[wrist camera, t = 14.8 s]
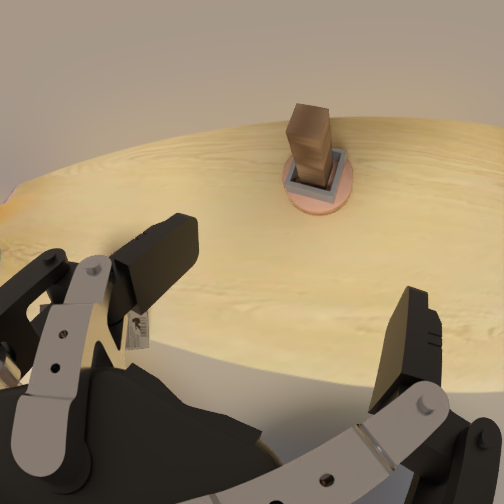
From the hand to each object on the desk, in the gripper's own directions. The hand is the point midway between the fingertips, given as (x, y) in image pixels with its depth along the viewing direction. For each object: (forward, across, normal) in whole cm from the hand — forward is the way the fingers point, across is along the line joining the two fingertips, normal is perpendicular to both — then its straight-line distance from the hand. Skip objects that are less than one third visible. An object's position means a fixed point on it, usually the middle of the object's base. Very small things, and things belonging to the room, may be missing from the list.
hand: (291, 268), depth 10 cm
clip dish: (+34, +6, +10) cm, 35 cm away
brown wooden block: (+31, +6, +8) cm, 33 cm away
